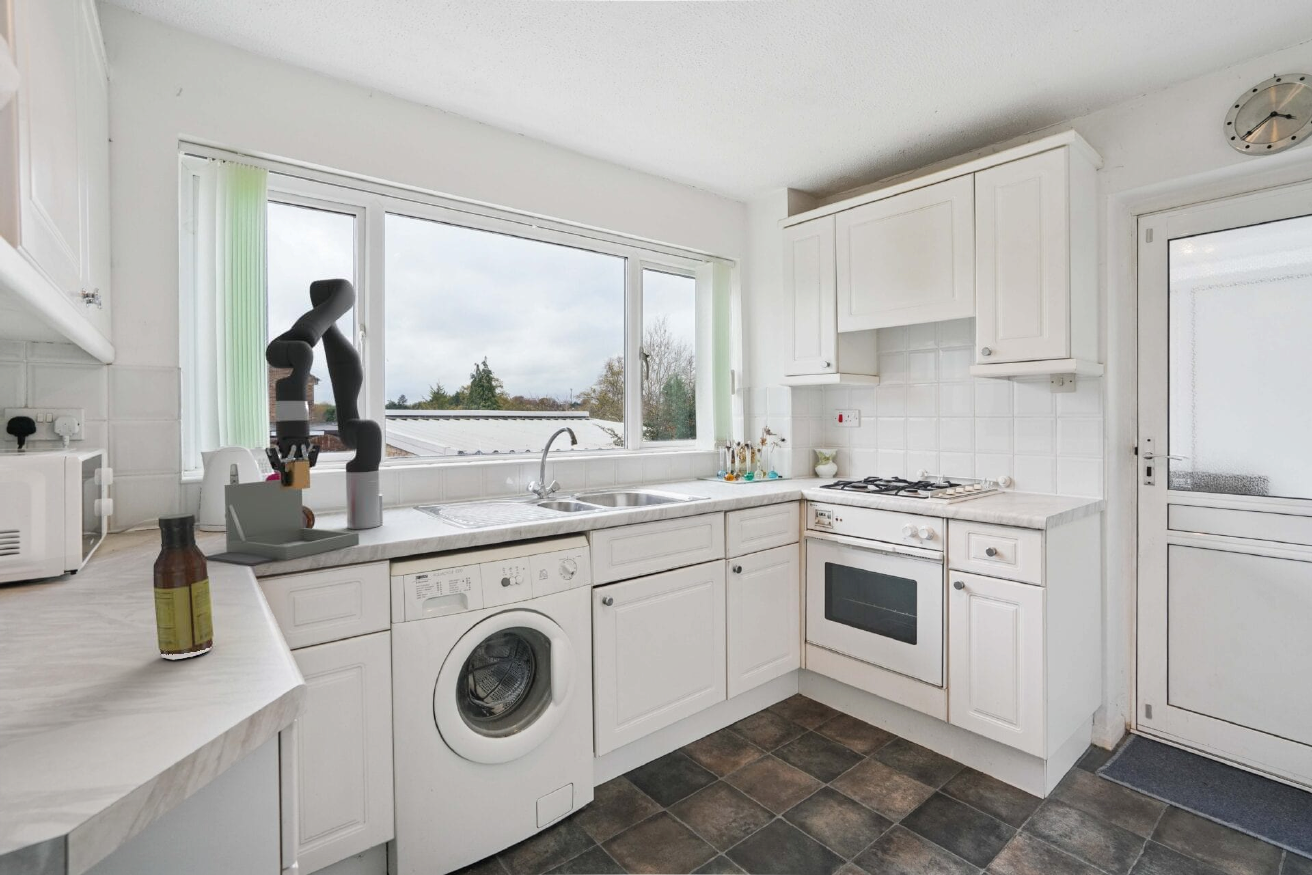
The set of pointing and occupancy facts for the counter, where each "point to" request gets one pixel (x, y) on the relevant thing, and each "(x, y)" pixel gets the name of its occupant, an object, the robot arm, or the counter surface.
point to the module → (298, 475)
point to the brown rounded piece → (308, 518)
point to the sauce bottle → (181, 589)
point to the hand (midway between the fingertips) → (295, 485)
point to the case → (274, 523)
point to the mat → (240, 558)
